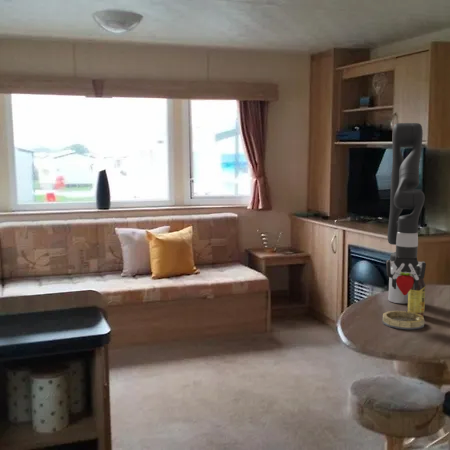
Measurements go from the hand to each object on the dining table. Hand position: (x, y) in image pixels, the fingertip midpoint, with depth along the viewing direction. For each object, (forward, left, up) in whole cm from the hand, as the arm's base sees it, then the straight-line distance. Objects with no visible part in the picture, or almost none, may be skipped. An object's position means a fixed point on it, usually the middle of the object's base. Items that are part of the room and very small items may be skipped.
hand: (404, 288), depth 216 cm
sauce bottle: (-12, +6, -13) cm, 19 cm away
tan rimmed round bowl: (0, 0, -13) cm, 13 cm away
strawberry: (0, 0, -3) cm, 3 cm away
